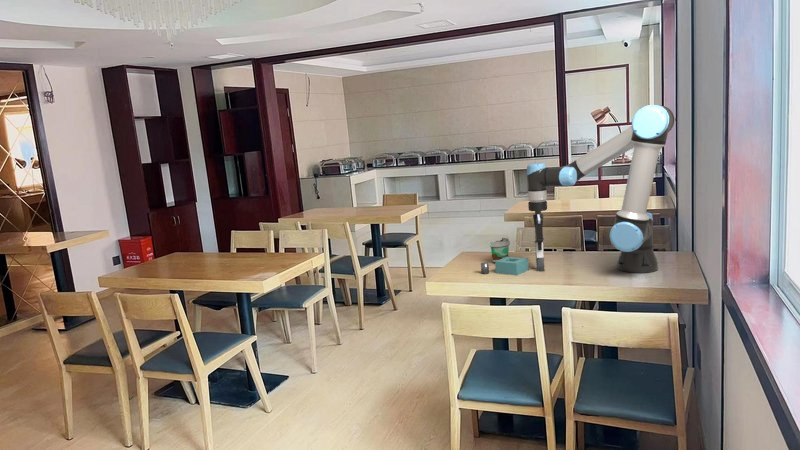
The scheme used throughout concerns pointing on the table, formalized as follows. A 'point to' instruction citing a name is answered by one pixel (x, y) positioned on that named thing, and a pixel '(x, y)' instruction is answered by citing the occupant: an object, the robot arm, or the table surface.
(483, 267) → the short pin
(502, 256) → the food container
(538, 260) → the long pin
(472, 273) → the table surface
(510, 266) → the drilled block
